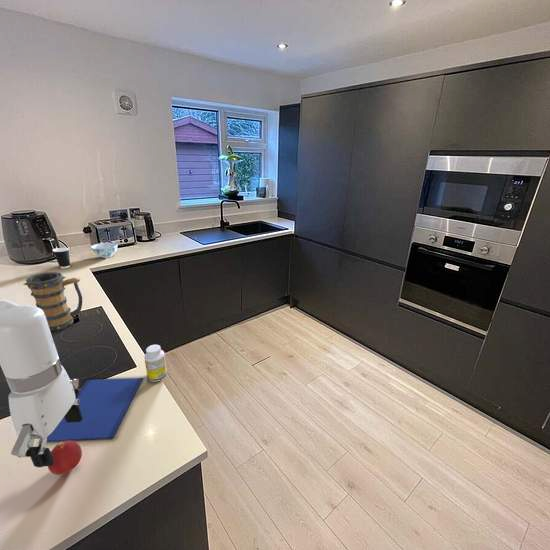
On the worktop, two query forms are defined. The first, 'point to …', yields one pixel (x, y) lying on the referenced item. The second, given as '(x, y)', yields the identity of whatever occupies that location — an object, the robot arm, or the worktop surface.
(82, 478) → the worktop surface
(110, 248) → the chinaware
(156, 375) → the supplement bottle
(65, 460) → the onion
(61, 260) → the dixie cup
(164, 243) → the worktop surface
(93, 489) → the worktop surface
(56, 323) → the mug
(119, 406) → the cloth
